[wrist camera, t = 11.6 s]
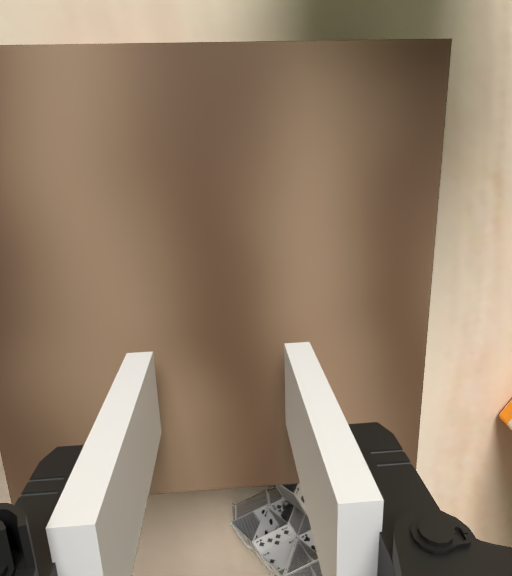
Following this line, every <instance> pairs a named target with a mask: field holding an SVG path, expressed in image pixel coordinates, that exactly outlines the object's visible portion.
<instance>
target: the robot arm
mask: <svg viewBox="0 0 512 576" xmlns="http://www.w3.org/2000/svg"><path fill="white" fill-rule="evenodd" d="M284 361H285V418H286V427H287V431H288V435H289V440H290V444H291V448H292V452H293V456H294V460H295V465H296V469H297V473H298V477H299V481H300V485H301V489H302V494H303V498H304V502H305V506H306V510H307V514H308V518H309V523H310V527H311V531H312V535H313V539H314V543H315V547H316V552H317V556H318V560H319V564H320V568H321V572H322V576H512V548H511V547H506V546H500V545H495V544H491V543H487V542H483V541H480V540H478V539H476V538H475V536H474V535H473V533H472V532H471V530H470V529H469V528H468V527H467V526H466V525H465V524H463V523H462V522H461V521H460V520H458V519H457V518H456V517H453V516H451V515H449V514H447V513H445V512H443V511H441V510H440V509H439V507H438V506H437V504H436V502H435V501H434V499H433V497H432V496H431V494H430V493H429V491H428V489H427V488H426V486H425V484H424V483H423V481H422V479H421V478H420V476H419V475H418V473H417V471H416V470H415V468H414V466H413V465H412V464H411V463H410V460H409V458H408V457H407V455H406V453H405V452H403V449H402V447H401V445H400V444H399V442H398V440H397V439H396V437H395V436H394V434H393V433H392V432H390V431H389V430H388V429H386V428H385V427H383V426H382V425H381V424H379V423H378V422H369V423H356V424H348V423H347V421H346V419H345V417H344V415H343V412H342V410H341V408H340V406H339V404H338V402H337V400H336V398H335V395H334V393H333V391H332V389H331V387H330V385H329V383H328V380H327V378H326V376H325V374H324V372H323V370H322V368H321V366H320V363H319V361H318V359H317V357H316V355H315V353H314V351H313V349H312V346H311V344H310V342H299V343H284ZM161 433H162V432H161V422H160V413H159V403H158V394H157V384H156V375H155V365H154V356H153V351H152V352H135V353H127V354H126V356H125V358H124V360H123V362H122V364H121V367H120V369H119V371H118V373H117V375H116V377H115V380H114V382H113V384H112V386H111V388H110V390H109V392H108V395H107V397H106V399H105V401H104V403H103V405H102V408H101V410H100V412H99V414H98V416H97V418H96V421H95V423H94V425H93V427H92V429H91V431H90V434H89V436H88V438H87V440H86V442H85V444H84V445H75V446H61V447H56V448H55V449H54V450H53V451H52V452H50V453H49V454H48V455H47V456H46V457H45V458H43V459H42V460H41V461H40V462H39V464H38V465H37V467H36V469H35V470H34V472H33V474H32V476H31V477H30V481H29V482H27V484H26V486H25V488H24V489H23V491H22V493H21V497H19V498H18V500H17V501H16V503H15V505H12V504H9V503H0V576H132V572H133V567H134V562H135V558H136V553H137V548H138V543H139V538H140V534H141V529H142V524H143V519H144V514H145V510H146V505H147V500H148V495H149V490H150V486H151V481H152V476H153V471H154V466H155V462H156V457H157V452H158V447H159V442H160V438H161Z"/></svg>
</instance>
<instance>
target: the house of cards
mask: <svg viewBox="0 0 512 576" xmlns="http://www.w3.org/2000/svg"><path fill="white" fill-rule="evenodd" d="M275 486H276V488H274V489H272V490H270V491H268V492H267V490H265V491H263V492H261V493H259V494H257V495H255V496H253V497H251V498H249V499H247V500H245V501H243V502H241V503H239V504H237V505H235V506H234V504H233V519H234V520H233V521H231V522H229V523H230V524H231V525H232V527H233V528H234V530H235V531H236V533H237V534H238V535H239V537H240V538H241V540H242V541H243V542H244V544H245V545H246V547H247V548H251V549H253V551H254V552H255V553H256V555H257V556H258V558H259V559H260V561H261V562H262V563H264V564H265V566H266V567H267V569H268V570H269V572H272V573H273V574H275V575H276V576H322V572H321V568H320V564H319V560H318V556H317V552H316V547H315V543H314V539H313V535H312V531H311V527H310V523H309V518H308V514H307V510H306V506H305V502H304V498H303V494H302V489H301V485H300V483H293V484H280V485H275Z"/></svg>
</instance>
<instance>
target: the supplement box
mask: <svg viewBox="0 0 512 576" xmlns="http://www.w3.org/2000/svg"><path fill="white" fill-rule="evenodd" d="M499 418H500V419H501V420H502V421H503V422H504V423H505V424H506V425H507V426H508V427H509V428H510V429H511V430H512V399H511V400H510V402H509V403H508V404H507V405H506V406H505V408H504V409H503V410H502V411H501V412H500V414H499Z"/></svg>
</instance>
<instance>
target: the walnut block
mask: <svg viewBox="0 0 512 576" xmlns="http://www.w3.org/2000/svg"><path fill="white" fill-rule="evenodd" d="M451 42H452V39H397V40H329V41H261V42H193V43H125V44H56V45H0V452H1V456H2V461H3V466H4V470H5V475H6V479H7V484H8V489H9V493H10V498H11V502H12V505H15V503H16V501H17V500H18V498H19V497H21V493H22V491H23V489H24V488H25V486H26V484H27V482H29V481H30V477H31V476H32V474H33V472H34V470H35V469H36V467H37V465H38V464H39V462H40V461H41V460H42V459H43V458H45V457H46V456H47V455H48V454H49V453H50V452H52V451H53V450H54V449H55V448H56V447H61V446H75V445H84V444H85V442H86V440H87V438H88V436H89V434H90V431H91V429H92V427H93V425H94V423H95V421H96V418H97V416H98V414H99V412H100V410H101V408H102V405H103V403H104V401H105V399H106V397H107V395H108V392H109V390H110V388H111V386H112V384H113V382H114V380H115V377H116V375H117V373H118V371H119V369H120V367H121V364H122V362H123V360H124V358H125V356H126V354H127V353H135V352H152V351H153V356H154V365H155V375H156V384H157V394H158V403H159V413H160V422H161V432H162V433H161V438H160V442H159V447H158V452H157V457H156V462H155V466H154V471H153V476H152V481H151V486H150V490H149V494H161V493H174V492H187V491H200V490H214V489H227V488H240V487H253V486H267V485H280V484H293V483H300V481H299V477H298V473H297V469H296V465H295V460H294V456H293V452H292V448H291V444H290V440H289V435H288V431H287V427H286V418H285V361H284V343H299V342H310V344H311V346H312V349H313V351H314V353H315V355H316V357H317V359H318V361H319V363H320V366H321V368H322V370H323V372H324V374H325V376H326V378H327V380H328V383H329V385H330V387H331V389H332V391H333V393H334V395H335V398H336V400H337V402H338V404H339V406H340V408H341V410H342V412H343V415H344V417H345V419H346V421H347V423H348V424H356V423H369V422H378V423H379V424H381V425H382V426H383V427H385V428H386V429H388V430H389V431H390V432H392V433H393V434H394V436H395V437H396V439H397V440H398V442H399V444H400V445H401V447H402V449H403V452H405V453H406V455H407V457H408V458H409V460H410V463H411V464H412V465H413V466H414V468H415V470H416V463H417V451H418V439H419V427H420V415H421V403H422V391H423V379H424V367H425V355H426V343H427V331H428V319H429V307H430V295H431V283H432V271H433V259H434V247H435V235H436V223H437V211H438V199H439V187H440V174H441V162H442V150H443V138H444V126H445V114H446V102H447V90H448V78H449V66H450V54H451Z"/></svg>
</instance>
